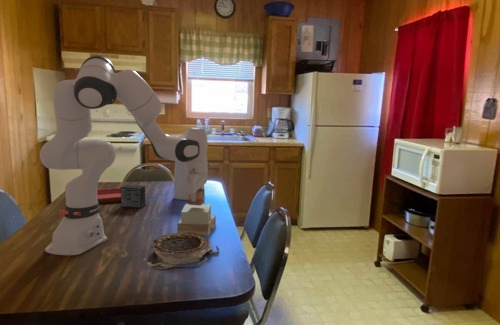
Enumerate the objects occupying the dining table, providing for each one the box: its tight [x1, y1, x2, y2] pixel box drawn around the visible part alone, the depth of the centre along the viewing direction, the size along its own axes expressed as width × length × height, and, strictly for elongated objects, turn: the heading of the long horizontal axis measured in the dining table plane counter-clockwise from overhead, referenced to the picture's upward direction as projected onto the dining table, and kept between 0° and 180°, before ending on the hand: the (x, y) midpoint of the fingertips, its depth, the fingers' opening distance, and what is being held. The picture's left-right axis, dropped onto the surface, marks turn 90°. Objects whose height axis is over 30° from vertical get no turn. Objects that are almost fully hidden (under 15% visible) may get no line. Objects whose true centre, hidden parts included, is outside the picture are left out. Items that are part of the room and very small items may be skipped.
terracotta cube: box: [187, 188, 206, 206], centre depth 153 cm, size 6×6×6 cm
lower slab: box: [176, 214, 217, 237], centre depth 155 cm, size 13×13×5 cm
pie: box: [143, 232, 220, 270], centre depth 133 cm, size 28×27×5 cm
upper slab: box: [180, 203, 212, 224], centre depth 154 cm, size 11×11×5 cm
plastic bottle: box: [172, 161, 205, 202], centre depth 199 cm, size 15×15×28 cm
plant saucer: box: [97, 188, 121, 204], centre depth 196 cm, size 18×18×3 cm
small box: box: [120, 184, 146, 209], centre depth 183 cm, size 11×6×10 cm, turn 84°
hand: (196, 198), depth 153 cm, fingers closed on terracotta cube, 5 cm apart
